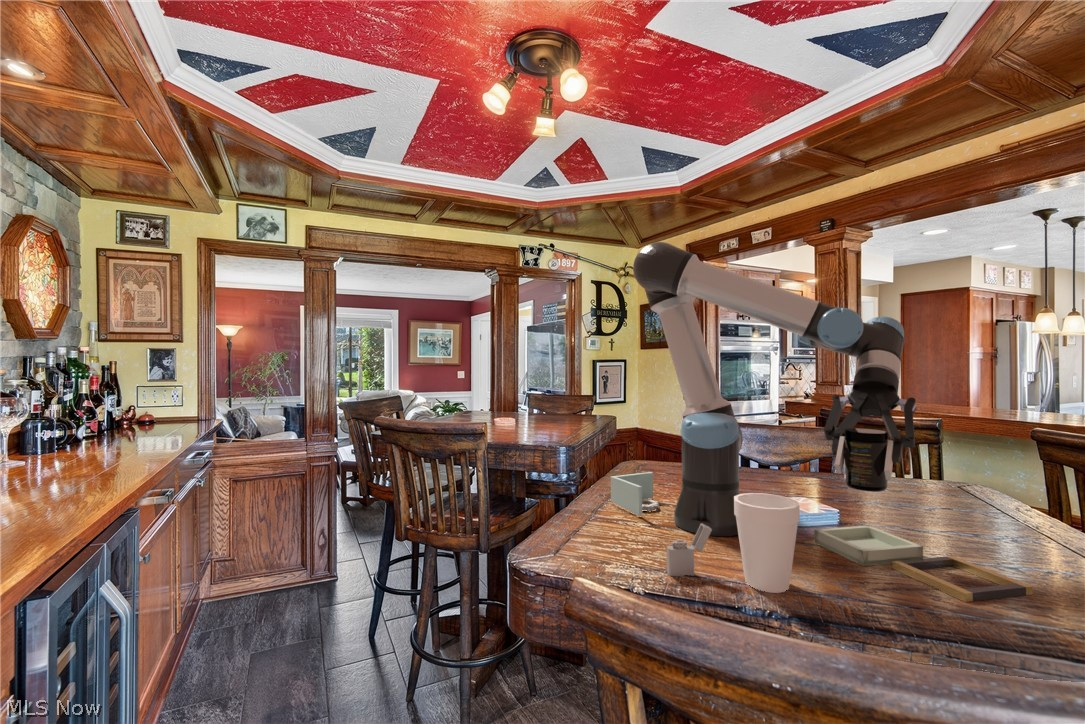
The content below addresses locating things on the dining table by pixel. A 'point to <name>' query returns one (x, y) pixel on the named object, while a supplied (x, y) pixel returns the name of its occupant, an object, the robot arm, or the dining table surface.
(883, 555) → the shallow grey-green tray
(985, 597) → the frame
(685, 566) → the lighter
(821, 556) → the dining table surface
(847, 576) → the dining table surface
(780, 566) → the foam cup
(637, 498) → the l-shaped corner panel
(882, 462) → the supplement container
